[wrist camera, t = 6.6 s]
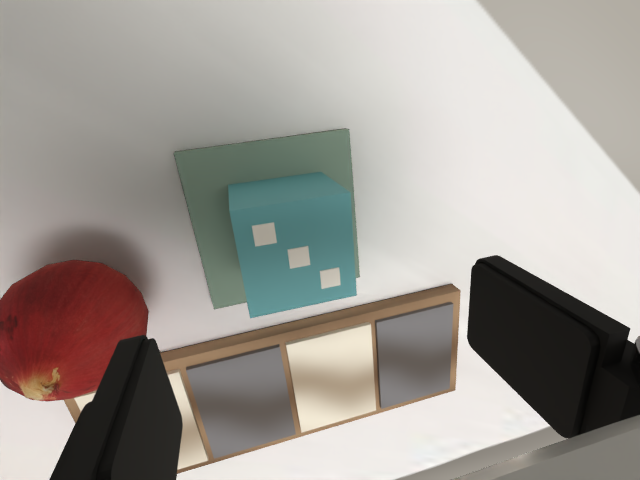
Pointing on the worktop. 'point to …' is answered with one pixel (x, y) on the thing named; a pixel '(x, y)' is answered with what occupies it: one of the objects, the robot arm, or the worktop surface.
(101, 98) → the worktop surface
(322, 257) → the die
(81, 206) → the worktop surface
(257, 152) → the mat
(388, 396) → the board
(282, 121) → the worktop surface
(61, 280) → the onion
